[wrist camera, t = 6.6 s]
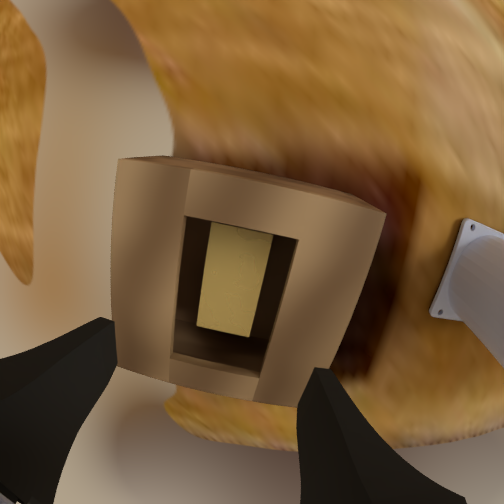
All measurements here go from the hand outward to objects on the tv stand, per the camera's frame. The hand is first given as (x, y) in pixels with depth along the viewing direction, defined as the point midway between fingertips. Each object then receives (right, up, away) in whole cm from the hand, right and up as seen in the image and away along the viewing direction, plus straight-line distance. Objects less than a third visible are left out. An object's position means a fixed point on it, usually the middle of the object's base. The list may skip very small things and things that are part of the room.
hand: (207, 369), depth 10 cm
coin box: (+1, +3, +10) cm, 10 cm away
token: (+1, +4, +9) cm, 10 cm away
